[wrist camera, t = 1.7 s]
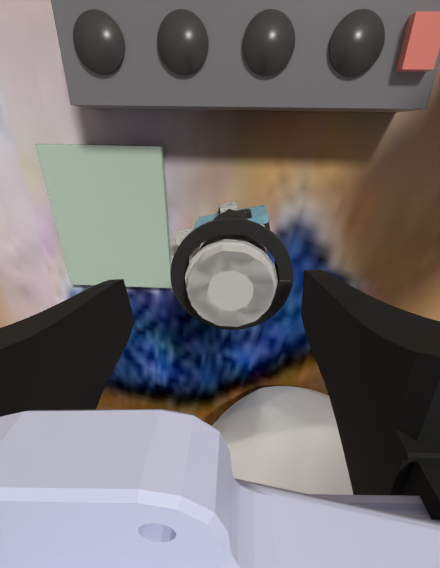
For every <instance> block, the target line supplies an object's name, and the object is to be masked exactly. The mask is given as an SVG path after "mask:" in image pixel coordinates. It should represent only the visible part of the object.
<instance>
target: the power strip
mask: <svg viewBox="0 0 440 568" xmlns="http://www.w3.org/2000/svg"><path fill="white" fill-rule="evenodd" d="M51 4H52V9H53V14H54V19H55V24H56V30H57V35H58V40H59V45H60V50H61V56H62V61H63V66H64V71H65V76H66V82H67V87H68V92H69V97H70V102H71V105H75V106H81V107H88V108H94V109H156V110H238V111H320V112H405V111H413V110H422V109H426V107H427V104H428V100H429V97H430V94H431V90H432V87H433V83H434V80H435V77H436V73H437V70H438V66H439V63H440V0H51Z"/></svg>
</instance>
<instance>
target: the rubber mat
mask: <svg viewBox="0 0 440 568" xmlns="http://www.w3.org/2000/svg"><path fill="white" fill-rule="evenodd" d="M35 145H36V149H37V153H38V157H39V161H40V165H41V169H42V173H43V176H44V180H45V184H46V188H47V192H48V196H49V200H50V204H51V208H52V212H53V216H54V220H55V224H56V228H57V231H58V235H59V239H60V243H61V247H62V251H63V255H64V259H65V263H66V267H67V271H68V275H69V279H70V282H71V284H73V285H97V284H99V283H102V282H104V281H107V280H115V279H124V283H125V286H128V287H155V288H172V285H171V278H170V271H171V252H170V238H169V223H168V209H167V195H166V181H165V167H164V152H163V146H132V145H74V144H35Z"/></svg>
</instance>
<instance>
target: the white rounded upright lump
mask: <svg viewBox="0 0 440 568" xmlns="http://www.w3.org/2000/svg"><path fill="white" fill-rule="evenodd" d="M213 427H214V428H216V429H217V430H219V431H220V433H221V435H222V437H223V439H224V440H225V442H226V444H227V446H228V448H229V450H230V455H231V465H232V473H233V476H234V478H236V479H240V480H245V481H250V482H254V483H259V484H264V485H268V486H273V487H277V488H282V489H287V490H291V491H296V492H301V493H305V494H328V495H353V491H352V486H351V481H350V477H349V473H348V468H347V464H346V460H345V456H344V451H343V447H342V443H341V439H340V435H339V431H338V427H337V423H336V419H335V416H334V412H333V408H332V405H331V401H330V397H329V395H327V394H324V393H321V392H318V391H315V390H311V389H307V388H300V387H293V386H272V387H264V388H260V389H258V390H256V391H254V392H252V393H250V394H248V395H247V396H245V397H243V398H242V399H240V400H239V401H237V402H236V403H234V404H233V405H232V406H230V407H229V408H228V409H227V410H226V411H225V412H224V413H223V414H222V415H221V416H220V417H219V418H218V419H217V420H216V422H215V423H214V424H213Z"/></svg>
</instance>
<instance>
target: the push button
mask: <svg viewBox="0 0 440 568" xmlns="http://www.w3.org/2000/svg"><path fill="white" fill-rule="evenodd" d="M229 204H231V205H229ZM220 212H221V213H219V214H214V215H208V216H203V217H200V218H198V220H197V223H196V225H194V226H191V228H189V229H183V230H178V231H177V234H176V235H175V240H176V243H177V245H178V246H179V247H178V249H177V251H176V253H175V255H174V257H173V260H172V264H171V271H170V278H171V285H172V289H173V292H174V294H175V296H176V298H177V300H178V302H179V303H180V305H181V306H182V307H183V308H184V310H185V311H186V312H187V313H189V314H190V315H191V316H192V317H194V318H195V319H196V320H198V321H200V322H202V323H204V324H206V325H209V326H211V327H215V328H219V329H227V330H238V329H245V328H249V327H253V326H256V325H258V324H260V323H262V322H264V321H266V320H268V319H269V318H271V317H272V316H273V315H274V314H275V313H277V312H278V311H279V309H280V308H281V307H282V306H283V304H284V303H285V302H286V300H287V298H288V296H289V293H290V291H291V287H292V282H293V268H292V263H291V260H290V257H289V254H288V252H287V250H286V248H285V246H284V245H283V243H282V242H281V241H280V239H279V238H278V237H277V236H276V235H275V234H274V233H273V232H271V231H270V227H269V218H268V213H267V210H266V207H265V205H260V206H255V207H252V208H246V209H241V210H237V202H236V201H234V202H229V203H224V204H221V207H220ZM184 232H186V233H184ZM198 246H199V247H200V248H199V250H198V252H197V254H196V255H195V256H194V257H193V258H192V259H191V261H190V263H189V256H190V255H191V253H192V252H193V251H194V250H195V249H196V248H197V247H198ZM266 248H267V249H268V250H269V251H270V253H271V254H272V255H273V257H274V259H275V266H274V264H273V263H272V261H271V260H270V259H269V257H268V255H267V251H266Z"/></svg>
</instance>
